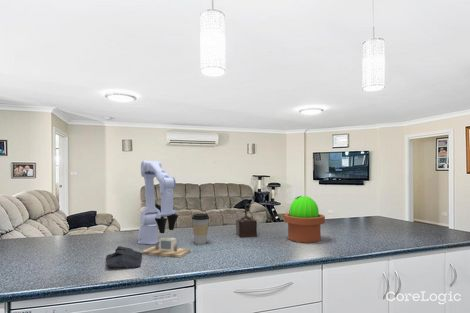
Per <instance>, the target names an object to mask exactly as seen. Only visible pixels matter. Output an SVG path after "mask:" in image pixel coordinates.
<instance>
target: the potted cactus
mask: <svg viewBox="0 0 470 313" xmlns="http://www.w3.org/2000/svg"><path fill="white" fill-rule="evenodd" d="M289 206H290V207H289V212H288V213H285V214H283V222H284V223H287V237H288V240H290V241H292V242H295V241H296V242H297V243H301V242H303V244H313V243H312V242H314V243H318V242H320V241H321V238H322V236H321V235H322V234H321V233H322V232H321V231H322V230H321V225H323V224H325V223H326V217H325V215H324V214H320V213H319V212H320V211H319V210H320V209H319V207H318V204H317V202H316V201H315V200H314V199H312V197H310V196H308V195H307V196H306V195H304V196H303V195H298V196H297V197H295V198H294V199H293V200H292V202H291V203H290V205H289Z"/></svg>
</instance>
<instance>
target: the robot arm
mask: <svg viewBox="0 0 470 313" xmlns="http://www.w3.org/2000/svg"><path fill="white" fill-rule="evenodd" d="M140 175H141V176H140V177H141V178H142V177H143V180H144V192H145V194H144V195H145V197H144V198H145V208H144V209H142V210H141V212H140V218H139V219H140V224H141V225H140V227H139V228H138V241H137V244H143V245H156V243H158V244H159V239H158V237H159V236H158V231H159V234H165V232H166V224H168V230H169V231H174V230H175V229H174V228H175V225H176V222H177V219H178V217H179V214H178V210H177V209H174V190H175V188H176V186H177V185H176V178H175V177H174V176H170V175H169V173H168V172H167V171H166V170H165V169H162V162H161V161H160V160H145V159H144V160H142V161H141V163H140ZM155 178H156V180H157V182H158V185H159V193H160V209H158V208H157V207H156V202H155V201H156V199H155V197H156V195H155V183H154V182H155V180H154V179H155ZM167 222H168V223H167Z"/></svg>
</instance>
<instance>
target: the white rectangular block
mask: <svg viewBox="0 0 470 313" xmlns="http://www.w3.org/2000/svg"><path fill="white" fill-rule="evenodd" d="M158 240H159V242H158V246H159V251H169V252H173V251H175V244H177V238H175V237H166V236H165V237H164V236H163V237H161V238H159V239H158Z"/></svg>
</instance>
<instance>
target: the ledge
mask: <svg viewBox="0 0 470 313" xmlns="http://www.w3.org/2000/svg"><path fill="white" fill-rule="evenodd" d="M141 253H142V255H149V256H158V257H168V258H182V257H184V256H186V255H188V254H189V253H191V249H190V248H181V247H179V248H178V244H177V243H176V244H175V251H173V252H169V251H159V242H158V243H155V245H153V246H151V247H148V248H146V249H144V250H142V251H141Z"/></svg>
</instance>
